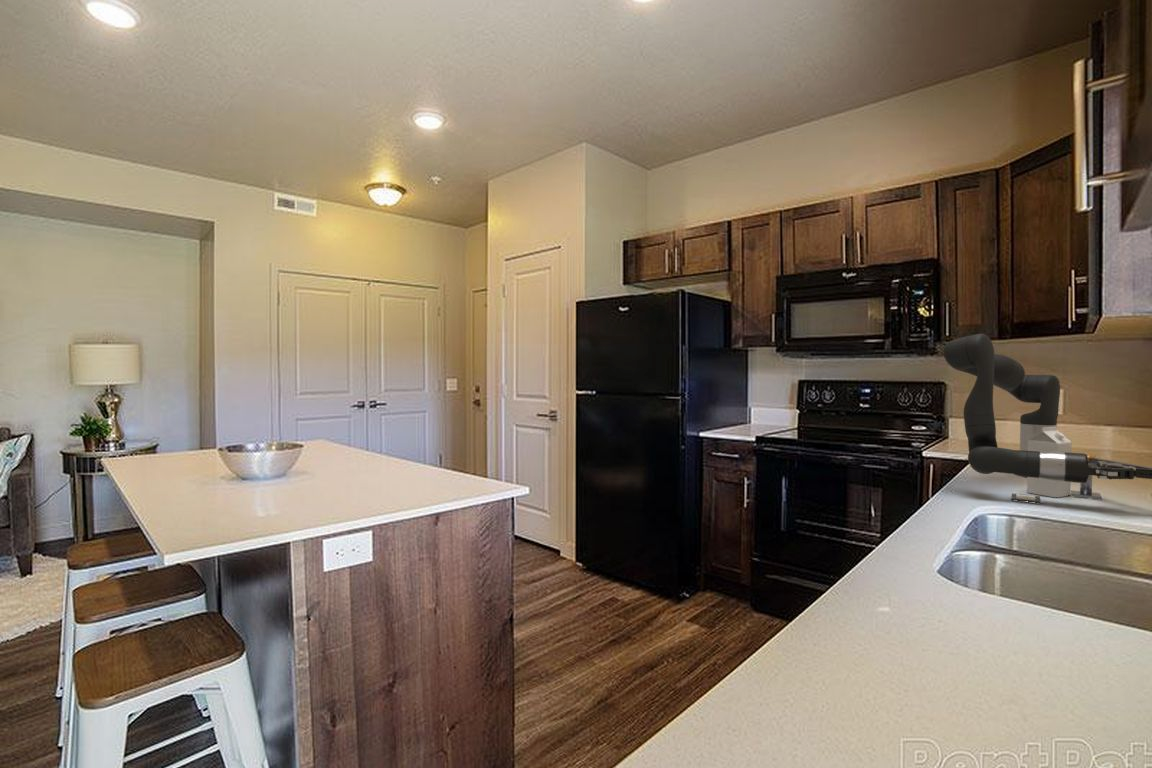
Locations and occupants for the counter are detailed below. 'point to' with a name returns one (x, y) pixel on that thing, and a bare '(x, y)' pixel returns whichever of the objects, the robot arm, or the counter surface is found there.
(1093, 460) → the swing arm
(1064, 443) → the milk carton
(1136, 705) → the counter surface
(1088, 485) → the pivot post
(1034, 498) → the label plate
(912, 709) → the counter surface
